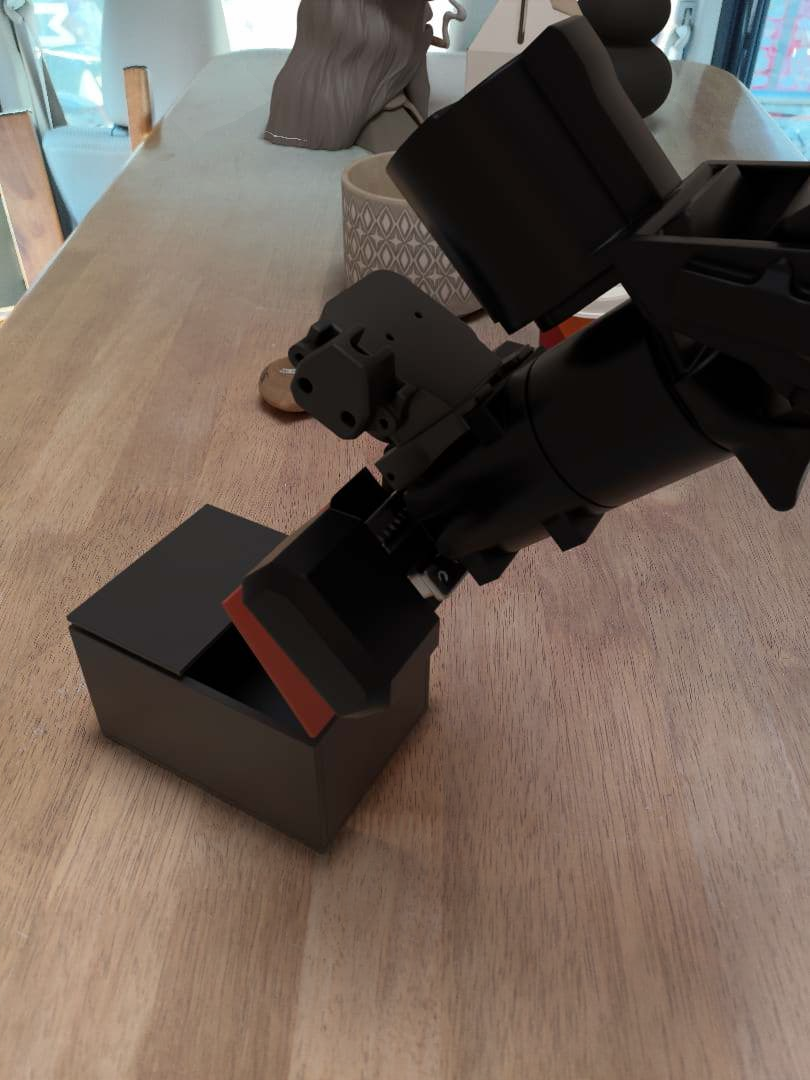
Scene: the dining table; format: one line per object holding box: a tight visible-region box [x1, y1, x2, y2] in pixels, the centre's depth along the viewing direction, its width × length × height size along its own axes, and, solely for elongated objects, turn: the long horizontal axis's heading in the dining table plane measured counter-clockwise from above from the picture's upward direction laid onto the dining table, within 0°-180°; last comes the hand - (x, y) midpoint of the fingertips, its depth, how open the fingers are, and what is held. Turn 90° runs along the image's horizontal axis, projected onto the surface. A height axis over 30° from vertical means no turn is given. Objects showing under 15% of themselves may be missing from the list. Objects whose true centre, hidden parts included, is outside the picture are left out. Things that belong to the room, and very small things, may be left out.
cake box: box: [463, 0, 583, 96], centre depth 121 cm, size 22×13×28 cm, turn 166°
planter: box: [340, 151, 483, 319], centre depth 92 cm, size 16×16×13 cm
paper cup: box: [538, 283, 630, 350], centre depth 70 cm, size 8×8×14 cm
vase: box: [577, 0, 673, 120], centre depth 138 cm, size 18×18×35 cm
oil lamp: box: [257, 356, 306, 413], centre depth 78 cm, size 9×4×8 cm
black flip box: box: [65, 503, 431, 855], centre depth 49 cm, size 15×11×9 cm
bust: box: [263, 0, 468, 154], centre depth 136 cm, size 34×34×35 cm
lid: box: [221, 501, 335, 738], centre depth 42 cm, size 7×11×1 cm
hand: (324, 566), depth 41 cm, fingers closed
